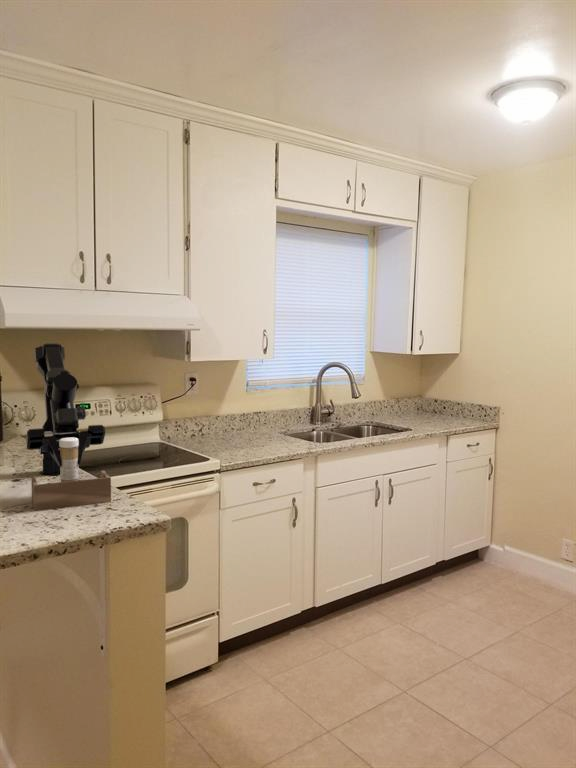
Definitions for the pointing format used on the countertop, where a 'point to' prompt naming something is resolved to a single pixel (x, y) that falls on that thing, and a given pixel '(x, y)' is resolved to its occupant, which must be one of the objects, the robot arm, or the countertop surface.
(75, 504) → the walnut crate
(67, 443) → the sprinkles bottle
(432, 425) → the countertop surface
